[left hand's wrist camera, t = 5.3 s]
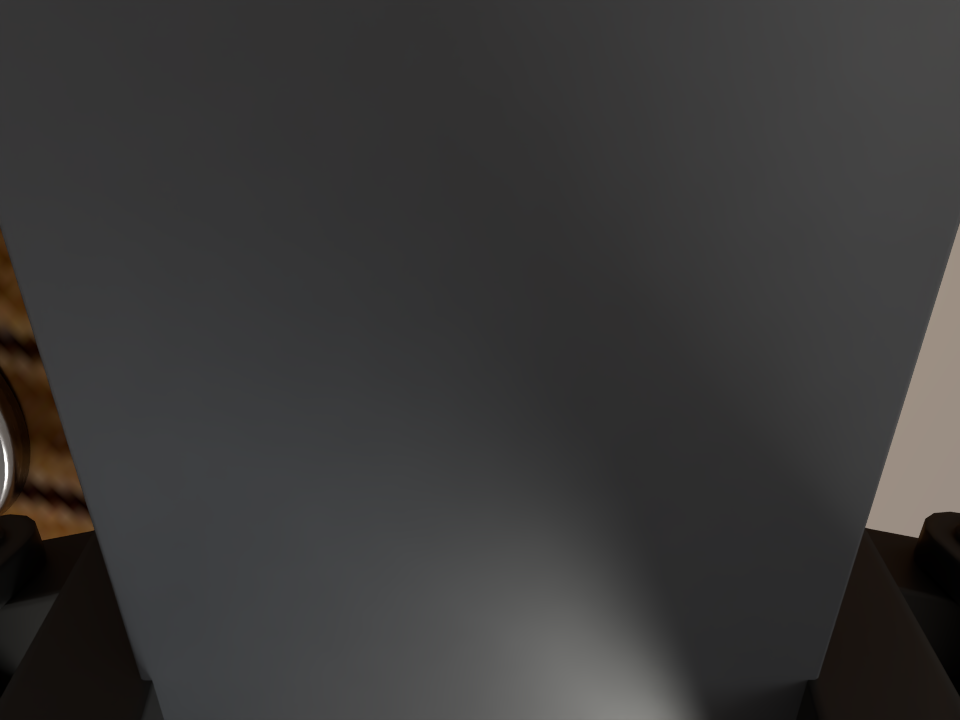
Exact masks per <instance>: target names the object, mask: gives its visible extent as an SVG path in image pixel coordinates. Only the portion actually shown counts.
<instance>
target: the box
mask: <svg viewBox="0 0 960 720" xmlns="http://www.w3.org/2000/svg"><path fill="white" fill-rule="evenodd" d="M959 223H960V0H0V227H1V231H2V234H3V237H4V240H5V244H6V247H7V250H8V253H9V256H10V260H11V263H12V266H13V269H14V272H15V276H16V279H17V282H18V285H19V288H20V292H21V295H22V298H23V301H24V305H25V308H26V311H27V314H28V317H29V321H30V324H31V327H32V330H33V333H34V337H35V340H36V343H37V346H38V350H39V353H40V356H41V359H42V362H43V366H44V369H45V372H46V375H47V378H48V382H49V385H50V388H51V391H52V394H53V398H54V401H55V404H56V407H57V411H58V414H59V417H60V420H61V423H62V427H63V430H64V433H65V436H66V439H67V443H68V446H69V449H70V452H71V455H72V459H73V462H74V465H75V468H76V472H77V475H78V478H79V481H80V484H81V488H82V491H83V494H84V497H85V500H86V504H87V507H88V510H89V513H90V516H91V520H92V523H93V526H94V529H95V533H96V536H97V539H98V542H99V545H100V549H101V552H102V555H103V558H104V561H105V565H106V568H107V571H108V574H109V578H110V581H111V584H112V587H113V590H114V594H115V597H116V600H117V603H118V606H119V610H120V613H121V616H122V619H123V622H124V626H125V629H126V632H127V635H128V639H129V642H130V645H131V648H132V651H133V655H134V658H135V661H136V664H137V667H138V671H139V674H140V677H141V679H143V680H152V681H153V684H154V688H155V691H156V694H157V698H158V701H159V704H160V708H161V711H162V714H163V718H164V720H796V718H797V715H798V711H799V708H800V705H801V701H802V698H803V695H804V691H805V688H806V685H807V681H808V680H815V679H817V678H818V677H819V674H820V671H821V667H822V664H823V661H824V658H825V655H826V651H827V648H828V645H829V642H830V639H831V635H832V632H833V629H834V626H835V622H836V619H837V616H838V613H839V610H840V606H841V603H842V600H843V597H844V593H845V590H846V587H847V584H848V581H849V577H850V574H851V571H852V568H853V565H854V561H855V558H856V555H857V552H858V548H859V545H860V542H861V539H862V536H863V532H864V529H865V526H866V523H867V519H868V516H869V513H870V510H871V506H872V503H873V500H874V497H875V494H876V490H877V487H878V484H879V481H880V478H881V474H882V471H883V468H884V465H885V461H886V458H887V455H888V452H889V448H890V445H891V442H892V439H893V436H894V433H895V429H896V426H897V423H898V420H899V416H900V413H901V410H902V407H903V404H904V400H905V397H906V394H907V391H908V388H909V384H910V381H911V378H912V375H913V371H914V368H915V365H916V362H917V359H918V355H919V352H920V349H921V346H922V342H923V339H924V336H925V333H926V330H927V326H928V323H929V320H930V317H931V313H932V310H933V307H934V304H935V301H936V297H937V294H938V291H939V288H940V285H941V281H942V278H943V275H944V271H945V268H946V265H947V262H948V259H949V256H950V252H951V249H952V246H953V243H954V239H955V236H956V233H957V230H958V227H959Z"/></svg>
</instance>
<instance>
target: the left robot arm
mask: <svg viewBox="0 0 960 720" xmlns="http://www.w3.org/2000/svg"><path fill="white" fill-rule="evenodd" d="M29 465H30V443H29V436H28V431H27V426H26V423H25V420H24V417H23V414H22V412H21V409H20V407H19V405H18V402H17V400H16V398H15V396H14V395H13V393H12V391H11V389H10V387H9V386H8V384H7V383H6V381H5V380H4V378H3V377H2V375H1V374H0V720H164V718H163V714H162V711H161V708H160V704H159V701H158V698H157V694H156V691H155V688H154V684H153V681H152V680H143V679H141V677H140V674H139V671H138V667H137V664H136V661H135V658H134V655H133V651H132V648H131V645H130V642H129V639H128V635H127V632H126V629H125V626H124V622H123V619H122V616H121V613H120V610H119V606H118V603H117V600H116V597H115V594H114V590H113V587H112V584H111V581H110V578H109V574H108V571H107V568H106V565H105V561H104V558H103V555H102V552H101V549H100V545H99V542H98V539H97V536H96V533H95V530H94V531H90V532H85V533H79V534H74V535H69V536H64V537H59V538H53V539H48V540H43V541H42V540H41V537H40V534H39V531H38V529H37V526H36V523H35V521H34V520H32V519H30V518H29V517H27V516H23V515H12V514H10V515H3V516H1V515H2V514H3V513H4V512H6V511H7V510H8V509H9V508H10V507H11V505H12V504H13V503H14V502H15V501H16V499H17V498H18V496H19V495H20V493H21V491H22V489H23V487H24V485H25V482H26V479H27V475H28V471H29ZM796 720H960V513H955V512H942V513H933V514H932V515H931V516H929V517H927V518H926V519H925V522H924V524H923V527H922V530H921V533H920V535H919V538H915V537H909V536H904V535H899V534H894V533H888V532H883V531H878V530H873V529H868V528H865V529H864V532H863V536H862V539H861V542H860V545H859V548H858V552H857V555H856V558H855V561H854V565H853V568H852V571H851V574H850V577H849V581H848V584H847V587H846V590H845V593H844V597H843V600H842V603H841V606H840V610H839V613H838V616H837V619H836V622H835V626H834V629H833V632H832V635H831V639H830V642H829V645H828V648H827V651H826V655H825V658H824V661H823V664H822V667H821V671H820V674H819V677H818V678H817V679H815V680H808V681H807V685H806V688H805V691H804V695H803V698H802V701H801V705H800V708H799V711H798V715H797V718H796Z"/></svg>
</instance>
